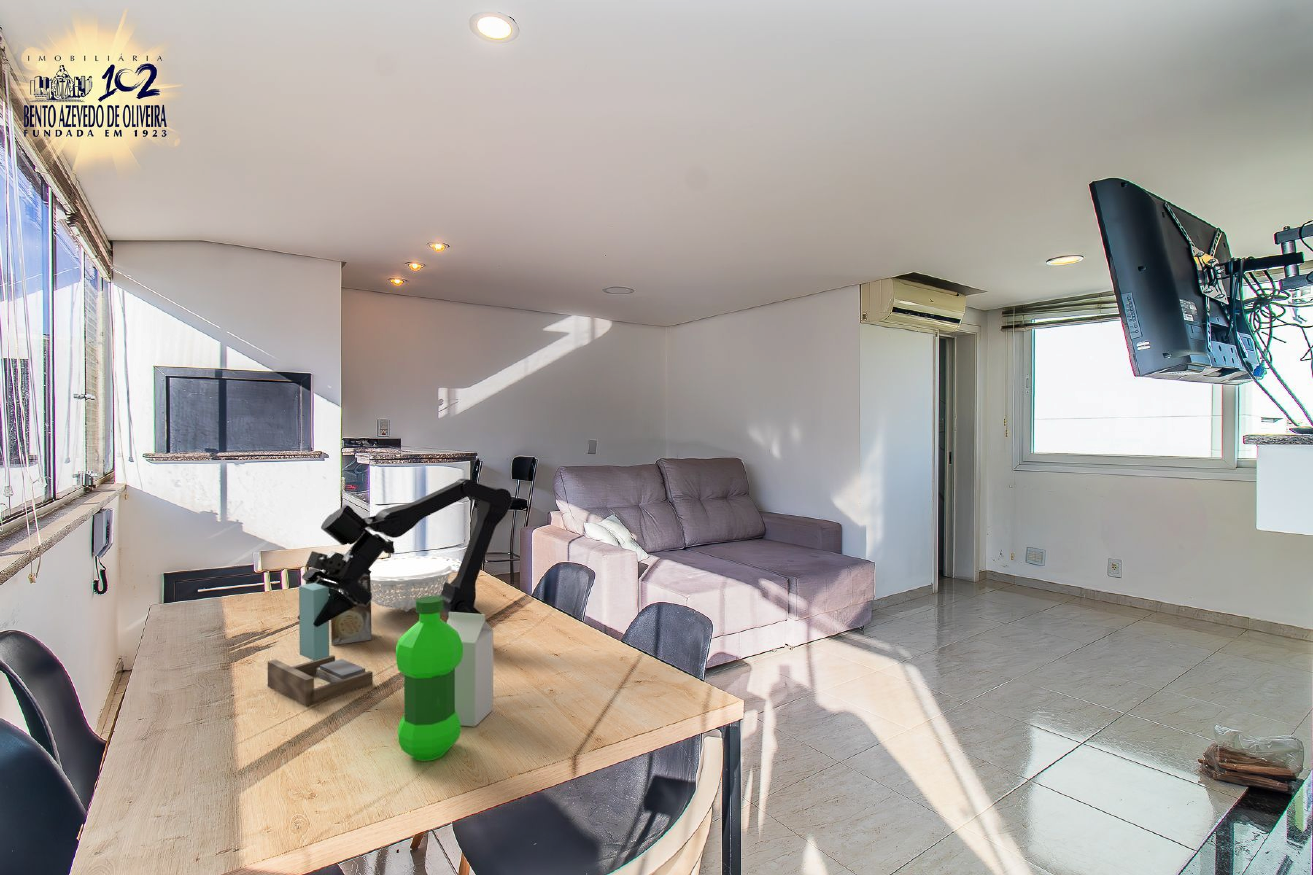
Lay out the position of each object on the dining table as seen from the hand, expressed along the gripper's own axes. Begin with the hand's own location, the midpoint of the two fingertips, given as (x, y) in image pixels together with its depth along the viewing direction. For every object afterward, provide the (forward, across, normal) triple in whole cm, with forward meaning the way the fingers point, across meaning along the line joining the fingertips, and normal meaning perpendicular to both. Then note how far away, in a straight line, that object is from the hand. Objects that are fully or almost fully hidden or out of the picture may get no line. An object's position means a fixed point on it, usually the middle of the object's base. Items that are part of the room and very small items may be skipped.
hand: (307, 622), depth 129 cm
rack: (+8, 0, +11) cm, 14 cm away
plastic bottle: (+10, +41, +9) cm, 44 cm away
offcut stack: (+5, 0, +14) cm, 15 cm away
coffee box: (-5, -22, +24) cm, 34 cm away
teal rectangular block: (+4, 0, +6) cm, 7 cm away
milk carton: (+2, +36, +18) cm, 40 cm away
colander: (-20, -33, +40) cm, 56 cm away
